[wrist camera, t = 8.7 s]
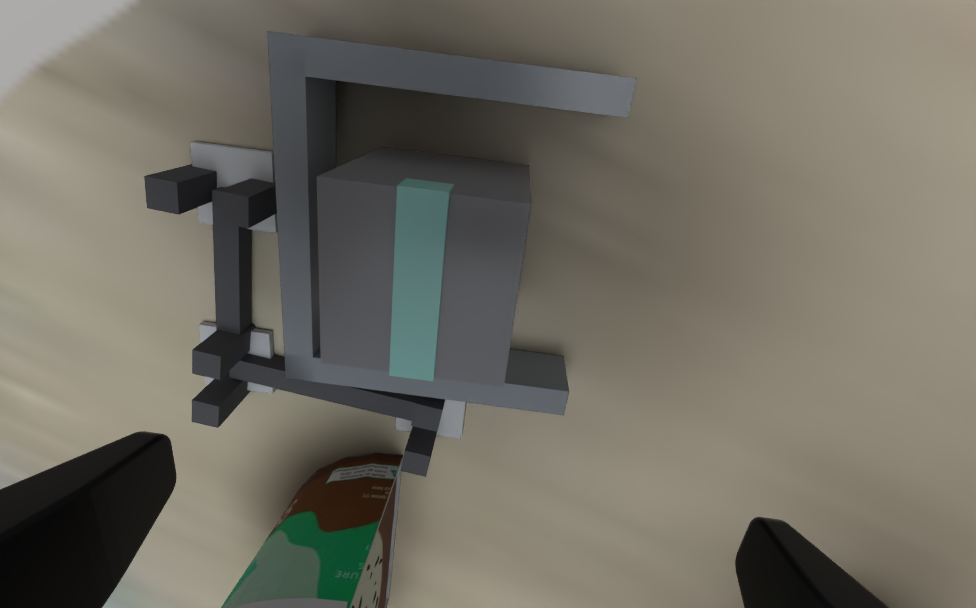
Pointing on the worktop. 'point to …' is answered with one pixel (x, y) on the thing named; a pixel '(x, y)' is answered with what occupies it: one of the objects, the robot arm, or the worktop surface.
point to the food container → (330, 541)
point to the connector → (421, 263)
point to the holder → (312, 151)
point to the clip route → (232, 339)
